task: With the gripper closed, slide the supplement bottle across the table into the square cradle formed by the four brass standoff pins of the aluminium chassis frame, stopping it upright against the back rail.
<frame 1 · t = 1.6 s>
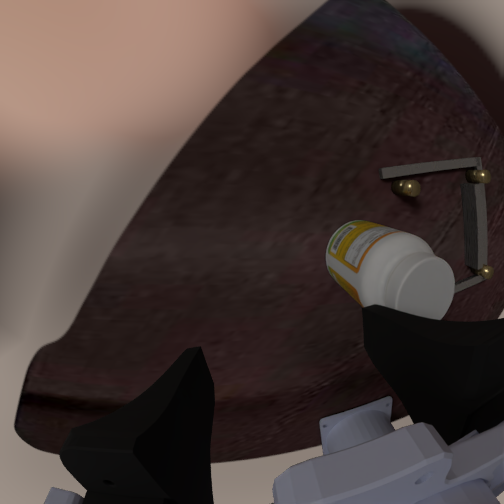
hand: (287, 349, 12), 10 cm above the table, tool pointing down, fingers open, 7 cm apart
chassis: (442, 231, 22), on the table
supplement bottle: (355, 253, 22), on the table
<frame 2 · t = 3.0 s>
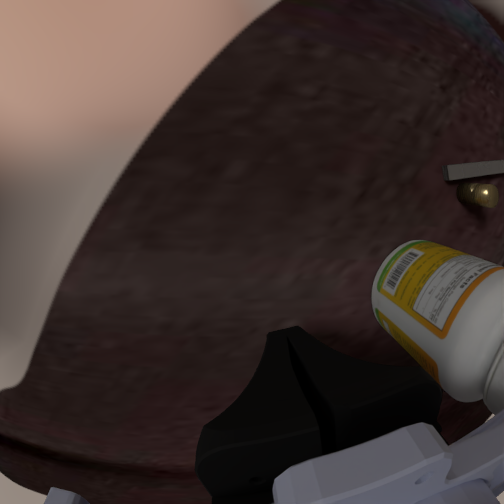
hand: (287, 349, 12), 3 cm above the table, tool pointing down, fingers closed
supplement bottle: (409, 285, 15), on the table
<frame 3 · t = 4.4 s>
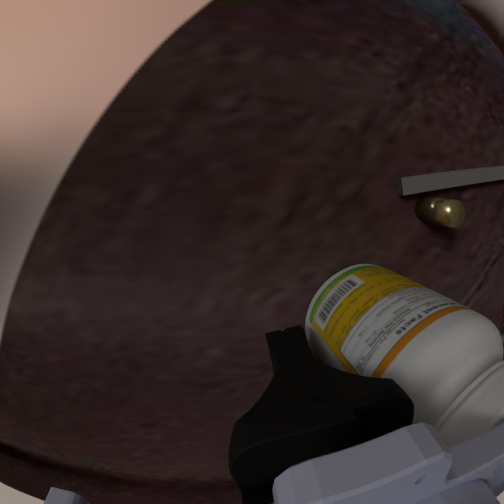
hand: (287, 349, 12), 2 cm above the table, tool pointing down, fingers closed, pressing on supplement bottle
chassis: (481, 272, 14), on the table
supplement bottle: (353, 314, 14), on the table, touching gripper
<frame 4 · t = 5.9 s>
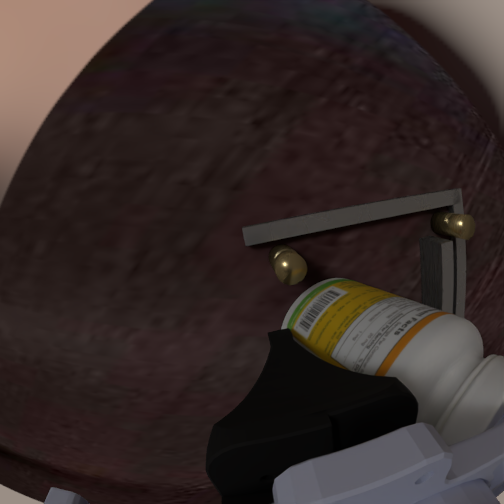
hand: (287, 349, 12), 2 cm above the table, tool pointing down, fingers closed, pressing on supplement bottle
chassis: (377, 320, 14), on the table
supplement bottle: (324, 328, 14), on the table, touching gripper
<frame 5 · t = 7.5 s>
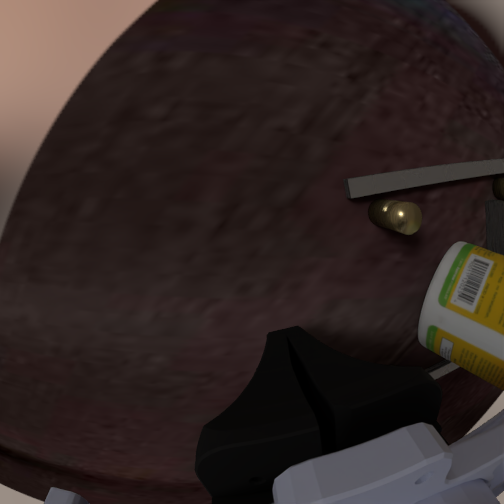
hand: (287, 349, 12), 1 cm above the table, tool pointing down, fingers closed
chassis: (453, 279, 13), on the table
supplement bottle: (438, 291, 12), point 1 cm above the table
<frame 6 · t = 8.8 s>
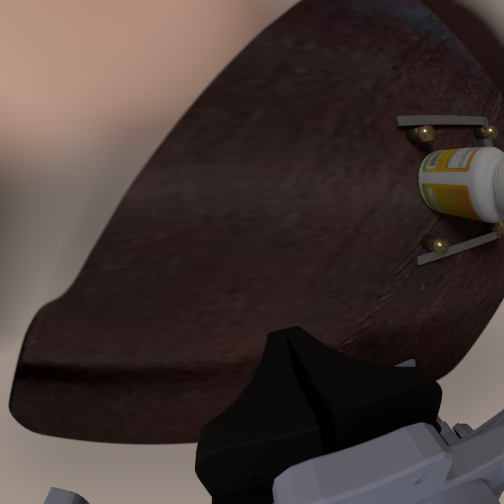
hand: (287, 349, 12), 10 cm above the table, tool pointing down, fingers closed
chassis: (456, 183, 21), on the table
supplement bottle: (438, 181, 21), on the table
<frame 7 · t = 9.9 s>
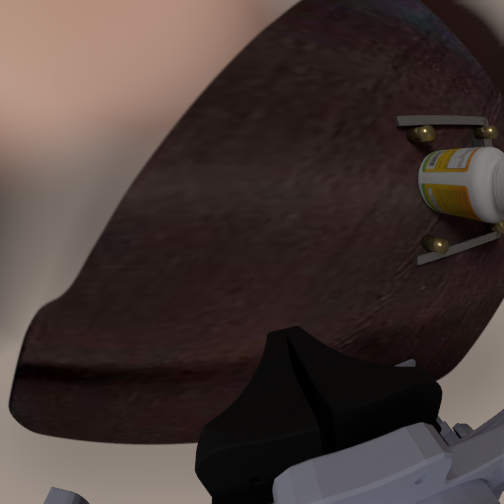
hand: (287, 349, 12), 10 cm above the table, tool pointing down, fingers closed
chassis: (456, 183, 21), on the table
supplement bottle: (438, 181, 21), on the table
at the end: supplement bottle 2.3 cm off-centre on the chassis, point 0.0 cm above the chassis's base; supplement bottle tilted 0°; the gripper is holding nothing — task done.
